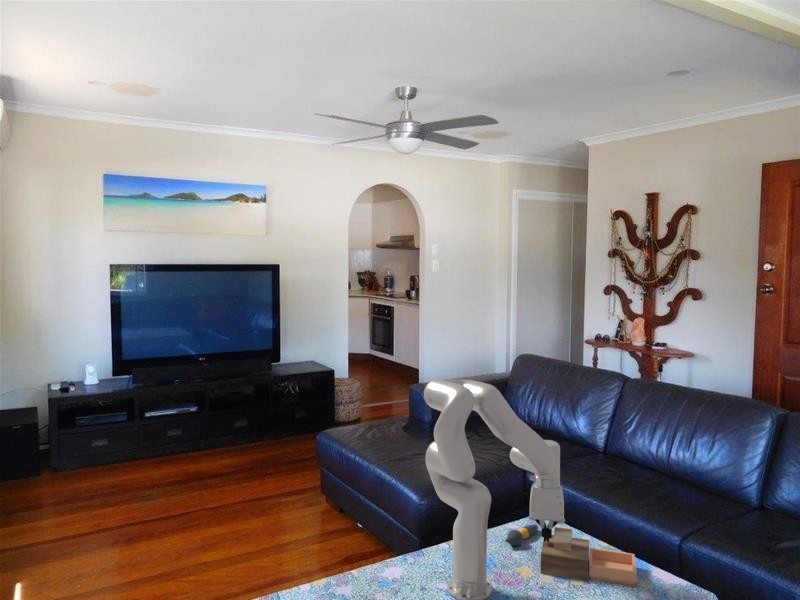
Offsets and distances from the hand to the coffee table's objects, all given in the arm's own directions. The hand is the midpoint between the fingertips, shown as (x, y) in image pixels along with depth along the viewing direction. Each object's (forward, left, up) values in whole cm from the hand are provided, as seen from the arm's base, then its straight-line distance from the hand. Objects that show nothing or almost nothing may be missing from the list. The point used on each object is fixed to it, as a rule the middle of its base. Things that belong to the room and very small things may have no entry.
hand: (546, 539), depth 186 cm
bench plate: (0, -6, -7) cm, 9 cm away
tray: (0, -19, -7) cm, 21 cm away
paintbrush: (+14, +9, -8) cm, 19 cm away
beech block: (0, -5, +1) cm, 5 cm away
